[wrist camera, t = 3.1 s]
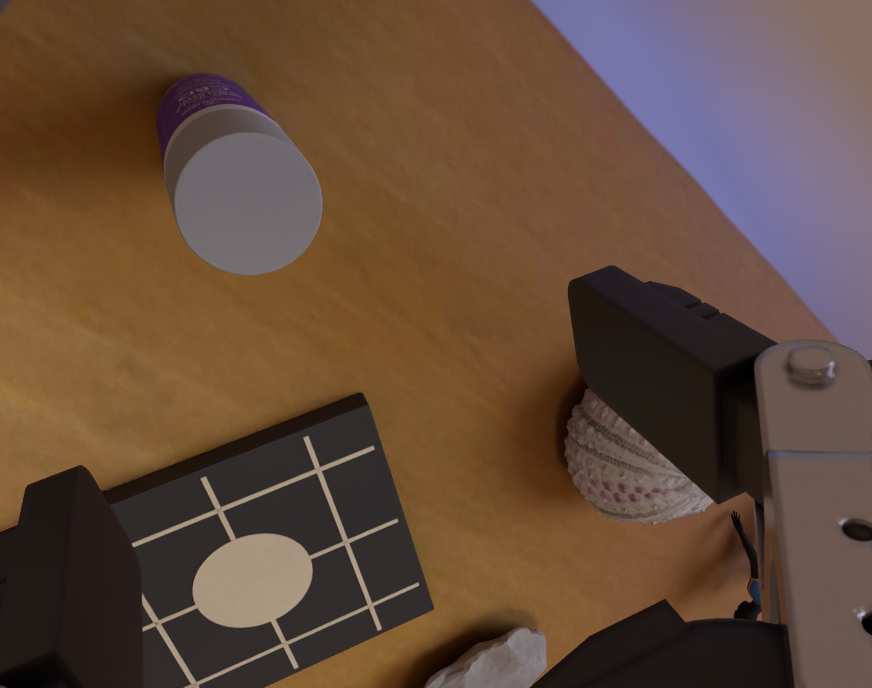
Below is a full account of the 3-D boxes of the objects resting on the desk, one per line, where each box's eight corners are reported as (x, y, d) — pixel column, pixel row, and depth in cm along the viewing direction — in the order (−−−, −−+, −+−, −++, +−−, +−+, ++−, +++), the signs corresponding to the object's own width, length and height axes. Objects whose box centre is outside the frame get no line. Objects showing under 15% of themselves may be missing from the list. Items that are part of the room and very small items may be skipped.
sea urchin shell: (532, 378, 48) (597, 443, 42) (707, 297, 51) (795, 346, 44) (568, 520, 55) (629, 596, 48) (721, 443, 57) (799, 505, 51)
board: (150, 720, 49) (151, 740, 48) (16, 525, 40) (12, 544, 39) (427, 594, 53) (434, 610, 52) (361, 391, 44) (369, 404, 43)
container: (209, 50, 34) (254, 92, 21) (279, 130, 36) (356, 210, 24) (133, 119, 34) (133, 202, 21) (208, 194, 36) (247, 308, 24)
